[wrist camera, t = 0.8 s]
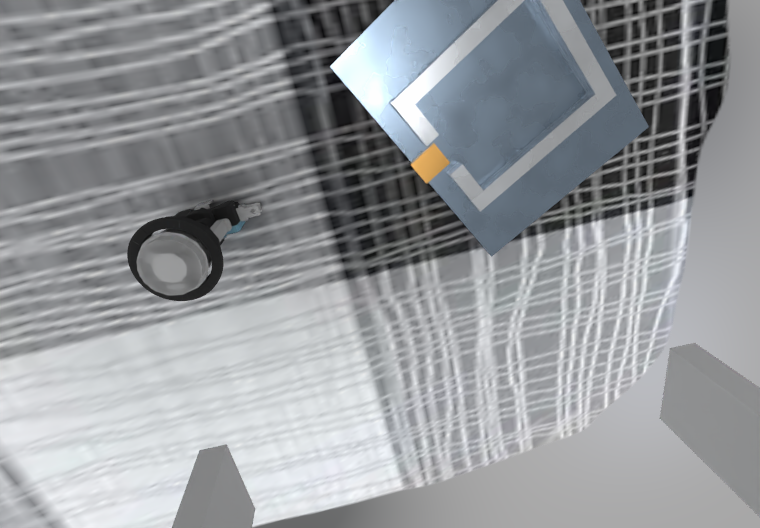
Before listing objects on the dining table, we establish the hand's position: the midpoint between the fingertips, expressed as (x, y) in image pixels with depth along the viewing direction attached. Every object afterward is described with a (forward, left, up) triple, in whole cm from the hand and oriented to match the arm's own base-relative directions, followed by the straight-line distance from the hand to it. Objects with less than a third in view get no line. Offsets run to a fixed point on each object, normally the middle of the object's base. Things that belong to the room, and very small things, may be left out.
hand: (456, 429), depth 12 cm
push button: (-8, -9, -24) cm, 27 cm away
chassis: (0, +13, -24) cm, 27 cm away
